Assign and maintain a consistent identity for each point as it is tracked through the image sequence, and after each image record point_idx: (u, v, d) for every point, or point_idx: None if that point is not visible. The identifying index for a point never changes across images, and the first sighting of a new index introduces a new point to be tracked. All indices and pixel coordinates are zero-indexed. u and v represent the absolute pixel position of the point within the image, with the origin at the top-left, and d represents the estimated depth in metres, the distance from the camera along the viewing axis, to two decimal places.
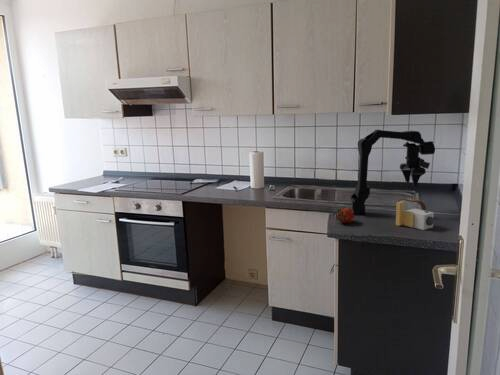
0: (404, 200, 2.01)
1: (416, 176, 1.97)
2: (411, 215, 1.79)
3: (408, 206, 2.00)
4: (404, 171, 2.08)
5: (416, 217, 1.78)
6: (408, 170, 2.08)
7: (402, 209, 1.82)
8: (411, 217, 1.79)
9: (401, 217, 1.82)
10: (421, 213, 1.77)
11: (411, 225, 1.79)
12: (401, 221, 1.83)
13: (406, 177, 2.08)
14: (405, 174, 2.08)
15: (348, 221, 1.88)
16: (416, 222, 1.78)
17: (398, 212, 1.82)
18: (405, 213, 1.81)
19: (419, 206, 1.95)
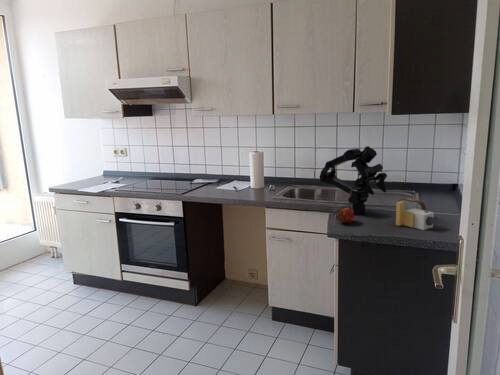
0: (404, 200, 2.01)
1: (366, 186, 1.92)
2: (411, 215, 1.79)
3: (408, 206, 2.00)
4: (377, 184, 1.99)
5: (416, 217, 1.78)
6: (379, 180, 1.97)
7: (402, 209, 1.82)
8: (411, 217, 1.79)
9: (401, 217, 1.82)
10: (421, 213, 1.77)
11: (411, 225, 1.79)
12: (401, 221, 1.83)
13: (381, 188, 1.96)
14: (379, 186, 1.97)
15: (348, 221, 1.88)
16: (416, 222, 1.78)
17: (398, 212, 1.82)
18: (405, 213, 1.81)
19: (419, 206, 1.95)
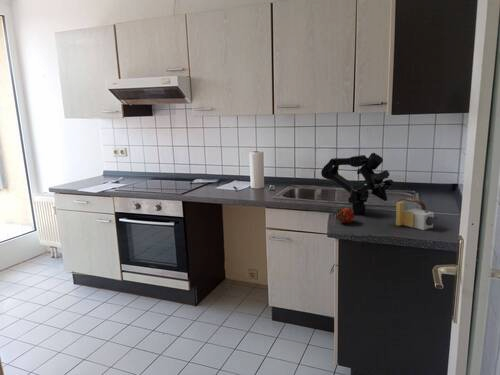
0: (404, 200, 2.01)
1: (378, 192, 1.91)
2: (411, 215, 1.79)
3: (408, 206, 2.00)
4: None
5: (416, 217, 1.78)
6: None
7: (402, 209, 1.82)
8: (411, 217, 1.79)
9: (401, 217, 1.82)
10: (421, 213, 1.77)
11: (411, 225, 1.79)
12: (401, 221, 1.83)
13: None
14: None
15: (348, 221, 1.88)
16: (416, 222, 1.78)
17: (398, 212, 1.82)
18: (405, 213, 1.81)
19: (419, 206, 1.95)
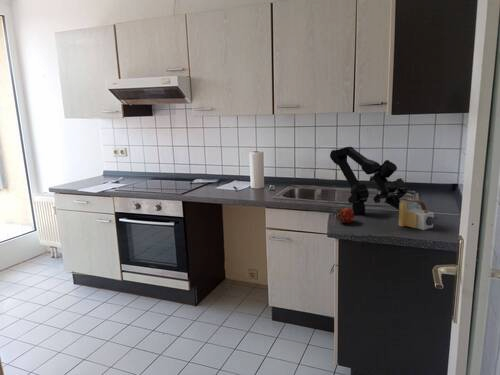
0: (404, 200, 2.01)
1: (392, 201, 1.84)
2: (414, 216, 1.77)
3: (408, 206, 2.00)
4: None
5: None
6: None
7: (405, 210, 1.80)
8: (414, 218, 1.77)
9: (404, 218, 1.81)
10: (421, 213, 1.77)
11: (414, 226, 1.78)
12: (404, 222, 1.81)
13: None
14: None
15: (348, 221, 1.88)
16: None
17: (401, 213, 1.80)
18: (408, 214, 1.80)
19: (419, 206, 1.95)
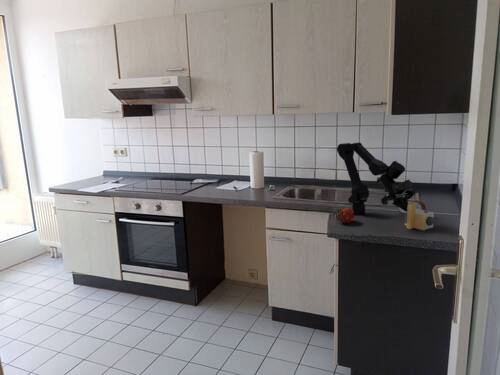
0: None
1: (400, 202, 1.80)
2: (423, 218, 1.73)
3: None
4: None
5: None
6: None
7: (413, 212, 1.76)
8: (423, 220, 1.73)
9: (412, 220, 1.77)
10: (421, 213, 1.77)
11: (423, 228, 1.74)
12: (412, 224, 1.77)
13: None
14: None
15: (348, 221, 1.88)
16: None
17: (409, 215, 1.76)
18: (416, 216, 1.76)
19: (419, 206, 1.95)
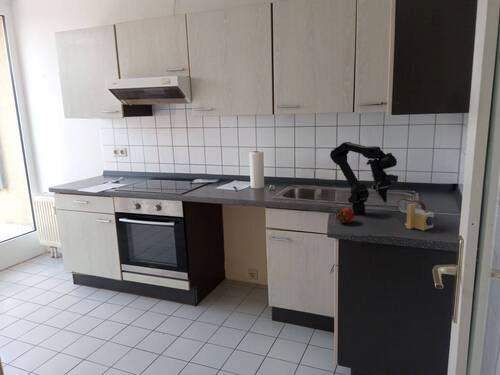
0: (404, 200, 2.01)
1: (383, 191, 1.89)
2: (423, 218, 1.73)
3: None
4: None
5: None
6: None
7: (413, 212, 1.77)
8: (423, 220, 1.74)
9: (412, 220, 1.77)
10: (421, 213, 1.77)
11: (423, 228, 1.74)
12: (412, 224, 1.77)
13: None
14: None
15: (348, 221, 1.88)
16: None
17: (409, 215, 1.76)
18: (416, 216, 1.76)
19: (419, 206, 1.95)
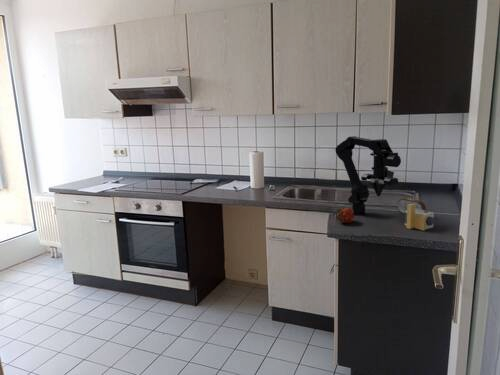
0: (404, 200, 2.01)
1: (381, 186, 1.90)
2: (423, 218, 1.73)
3: None
4: (375, 184, 1.91)
5: None
6: (378, 182, 1.92)
7: (413, 212, 1.77)
8: (423, 220, 1.74)
9: (412, 220, 1.77)
10: (421, 213, 1.77)
11: (423, 228, 1.74)
12: (412, 224, 1.77)
13: None
14: (376, 187, 1.91)
15: (348, 221, 1.88)
16: None
17: (409, 215, 1.76)
18: (416, 216, 1.76)
19: (419, 206, 1.95)
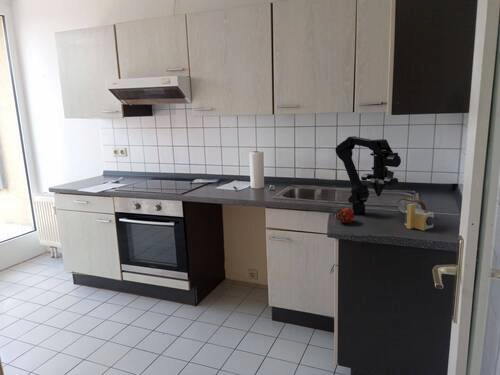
0: (404, 200, 2.01)
1: (381, 186, 1.90)
2: (423, 218, 1.73)
3: None
4: (375, 184, 1.91)
5: None
6: (378, 182, 1.92)
7: (413, 212, 1.77)
8: (423, 220, 1.74)
9: (412, 220, 1.77)
10: (421, 213, 1.77)
11: (423, 228, 1.74)
12: (412, 224, 1.77)
13: None
14: (376, 187, 1.91)
15: (348, 221, 1.88)
16: None
17: (409, 215, 1.76)
18: (416, 216, 1.76)
19: (419, 206, 1.95)
